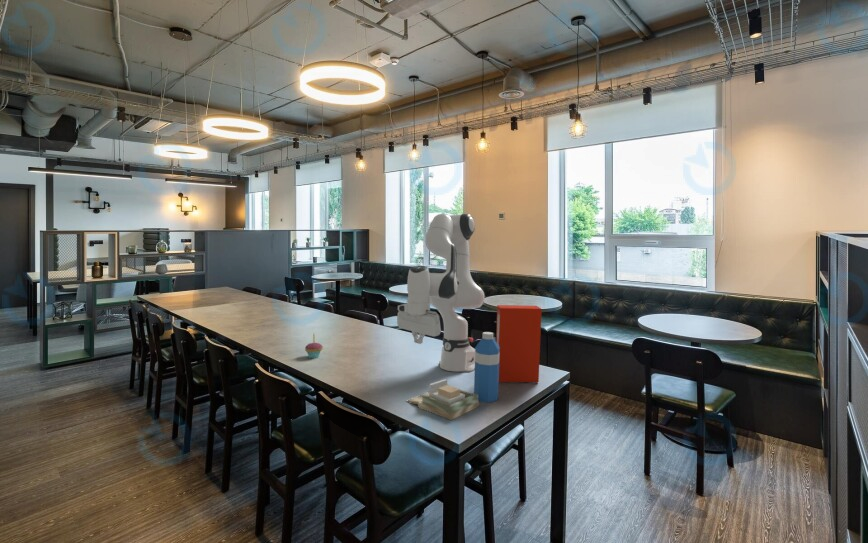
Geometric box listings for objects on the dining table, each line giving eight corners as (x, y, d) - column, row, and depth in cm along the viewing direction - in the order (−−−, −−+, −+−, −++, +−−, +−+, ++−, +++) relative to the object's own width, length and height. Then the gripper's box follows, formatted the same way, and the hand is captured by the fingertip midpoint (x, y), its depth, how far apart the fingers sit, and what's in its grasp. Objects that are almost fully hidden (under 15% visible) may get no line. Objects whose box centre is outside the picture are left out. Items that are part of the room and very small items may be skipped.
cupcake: (305, 355, 210) (305, 332, 209) (322, 354, 213) (322, 331, 212) (305, 359, 202) (305, 335, 201) (323, 358, 205) (323, 334, 204)
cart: (444, 396, 153) (444, 379, 153) (464, 404, 146) (465, 386, 146) (429, 401, 148) (429, 384, 147) (449, 410, 141) (449, 391, 140)
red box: (538, 383, 175) (541, 308, 172) (498, 382, 174) (500, 307, 172) (533, 377, 183) (536, 305, 180) (494, 376, 183) (497, 304, 180)
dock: (431, 392, 164) (431, 379, 164) (478, 409, 149) (479, 394, 149) (402, 404, 152) (402, 389, 152) (450, 423, 137) (451, 407, 137)
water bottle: (496, 393, 163) (497, 330, 161) (500, 402, 153) (502, 336, 152) (472, 392, 162) (474, 330, 160) (475, 402, 153) (477, 335, 151)
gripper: (444, 311, 155) (443, 346, 157) (405, 303, 169) (405, 336, 170) (433, 313, 151) (433, 350, 152) (394, 305, 164) (394, 339, 166)
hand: (418, 342), depth 161 cm, fingers closed
